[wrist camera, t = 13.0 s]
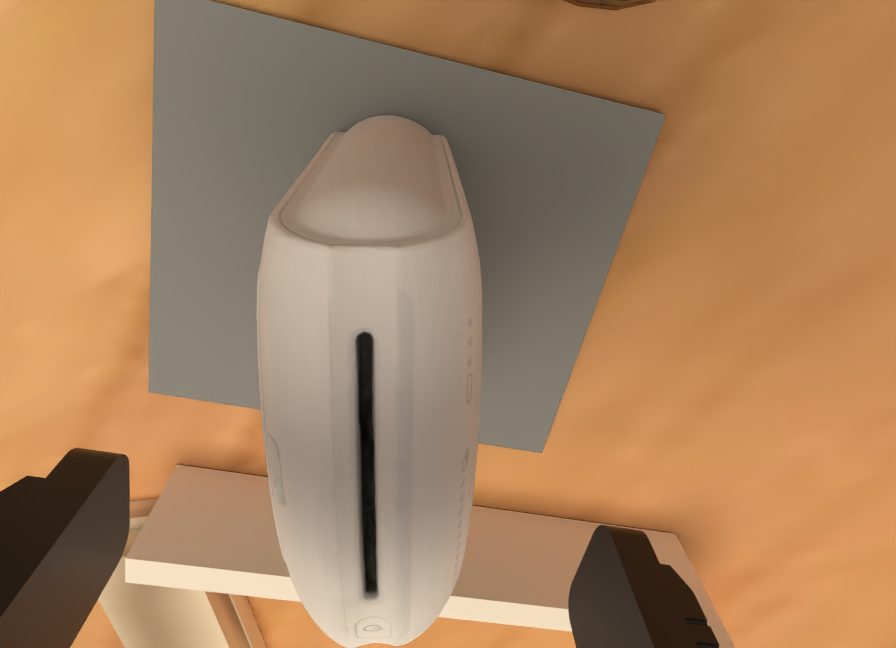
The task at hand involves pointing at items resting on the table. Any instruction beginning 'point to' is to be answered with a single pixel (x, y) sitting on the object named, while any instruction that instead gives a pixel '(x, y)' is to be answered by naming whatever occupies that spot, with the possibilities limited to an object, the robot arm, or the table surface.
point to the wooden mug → (609, 3)
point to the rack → (266, 575)
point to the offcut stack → (174, 608)
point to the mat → (338, 109)
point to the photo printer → (372, 379)
